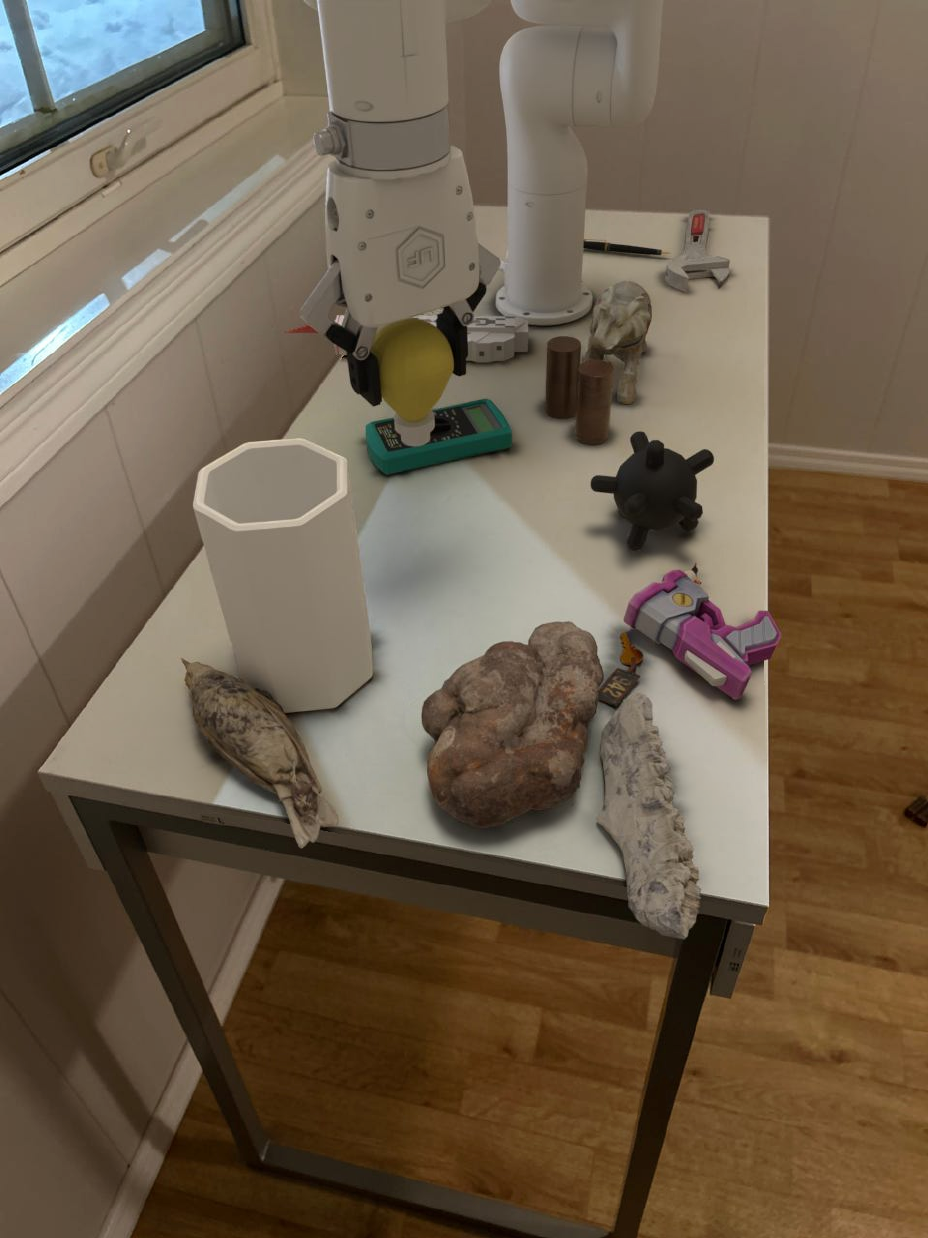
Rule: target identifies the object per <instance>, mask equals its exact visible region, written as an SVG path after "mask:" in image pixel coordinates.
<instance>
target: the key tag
mask: <svg viewBox="0 0 928 1238" xmlns="http://www.w3.org/2000/svg"><path fill="white" fill-rule="evenodd" d="M620 639H621V640H620V641H621V644H622V647H624V648H622V653H621V654H620V657H619V658H620V662H621V663H622V664H623V665H627V666H629V667H628V668H627V670H624V669H622V668H620V667H619V668H618V667H617V668H616V669H615V670H614V671H613V672H612V673H611V674H610V675H609V676H608V678H607V679H606V680H605V681H604V683H602V685H601V687H600V688H598V691H599V701H600V702H602V703H605V704H608V705H611V706H614V707H618V705H619V704H620V703H621V701H623V700H624V698H625V696H626V695H627V694H628V693H629V692H630V690H631V689H632V688H633V687H634V686H635V684H636V683H637V682H638V680H639V679H640V678H641V675H639V674H637V673H635V672H636V671H637V667H638V664H639V663H640V662H641V661H642V660H643V659H644V654H643V652H642V651H641V650H640V649H638V648H636V647H635V645H633V646H632V644H631V641H630V639H629V637H628V635H627V633H626V632H622V633H621V634H620ZM599 701H598V702H599Z"/></svg>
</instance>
